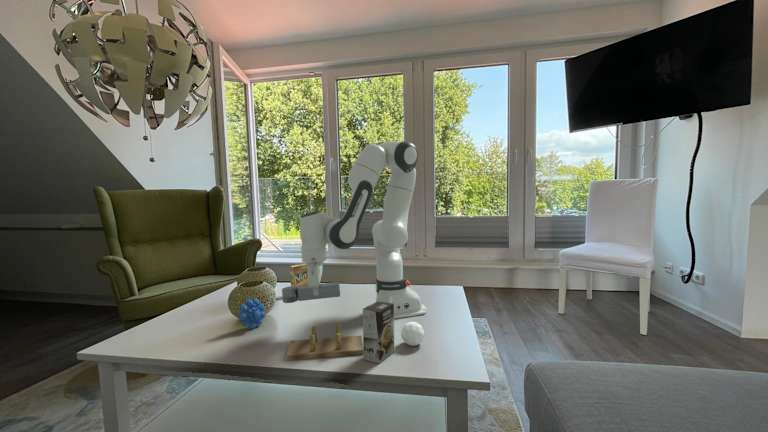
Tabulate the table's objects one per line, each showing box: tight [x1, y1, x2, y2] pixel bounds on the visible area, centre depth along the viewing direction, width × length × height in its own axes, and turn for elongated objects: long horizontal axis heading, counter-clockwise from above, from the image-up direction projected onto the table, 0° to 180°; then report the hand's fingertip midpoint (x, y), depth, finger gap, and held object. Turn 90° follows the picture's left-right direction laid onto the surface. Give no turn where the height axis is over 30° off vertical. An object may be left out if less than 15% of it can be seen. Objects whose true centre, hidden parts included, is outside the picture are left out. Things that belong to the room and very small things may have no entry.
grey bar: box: [281, 281, 341, 304], centre depth 131 cm, size 21×6×4 cm, turn 97°
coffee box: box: [362, 301, 395, 364], centre depth 112 cm, size 9×6×16 cm
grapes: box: [238, 298, 266, 330], centre depth 135 cm, size 12×7×12 cm, turn 148°
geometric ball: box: [400, 321, 425, 347], centre depth 119 cm, size 8×8×8 cm
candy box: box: [289, 263, 308, 287], centre depth 177 cm, size 9×4×15 cm, turn 126°
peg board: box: [285, 324, 364, 361], centre depth 117 cm, size 24×11×6 cm, turn 97°
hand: (316, 292), depth 131 cm, fingers closed on grey bar, 3 cm apart
